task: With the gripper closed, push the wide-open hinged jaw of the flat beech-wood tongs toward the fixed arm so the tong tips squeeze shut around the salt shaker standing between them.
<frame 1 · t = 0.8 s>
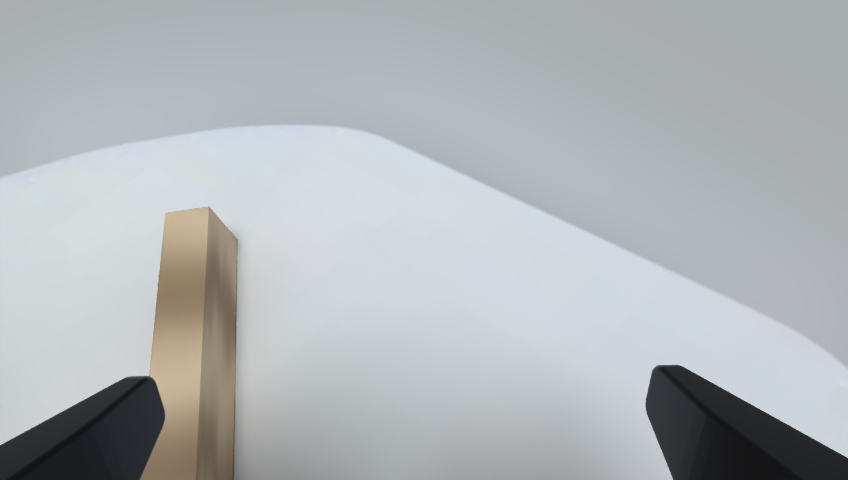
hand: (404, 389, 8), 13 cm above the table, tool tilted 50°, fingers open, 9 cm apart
tongs jaw: (191, 467, 17), point 2 cm above the table, hinge at 48.0°
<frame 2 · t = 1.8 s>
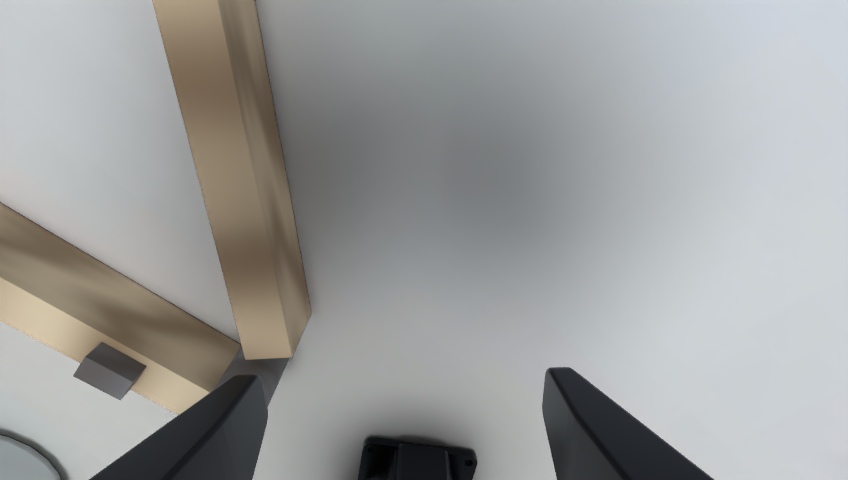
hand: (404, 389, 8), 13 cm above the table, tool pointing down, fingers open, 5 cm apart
tongs jaw: (226, 81, 16), point 2 cm above the table, hinge at 48.0°
supplement can: (4, 473, 26), on the table
tongs fixed arm: (267, 349, 23), on the table
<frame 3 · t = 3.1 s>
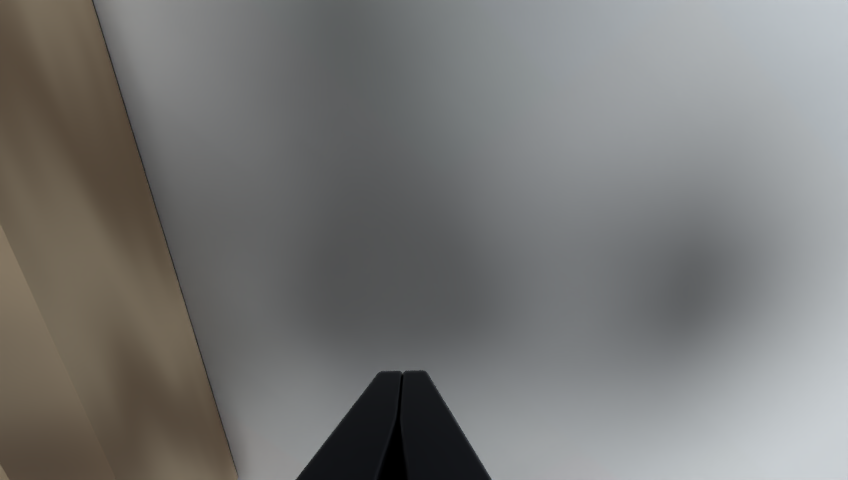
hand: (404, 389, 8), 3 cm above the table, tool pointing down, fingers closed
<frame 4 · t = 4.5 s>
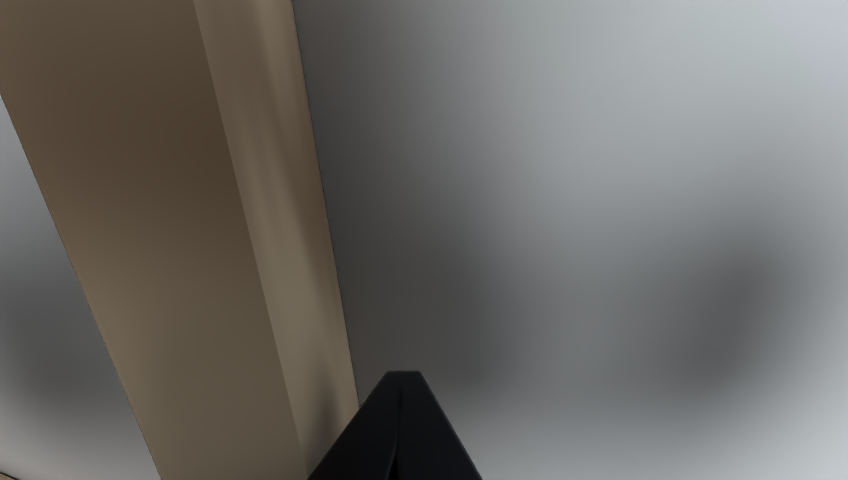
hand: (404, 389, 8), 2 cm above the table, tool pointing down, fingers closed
tongs jaw: (203, 115, 6), point 2 cm above the table, hinge at 47.7°, touching gripper
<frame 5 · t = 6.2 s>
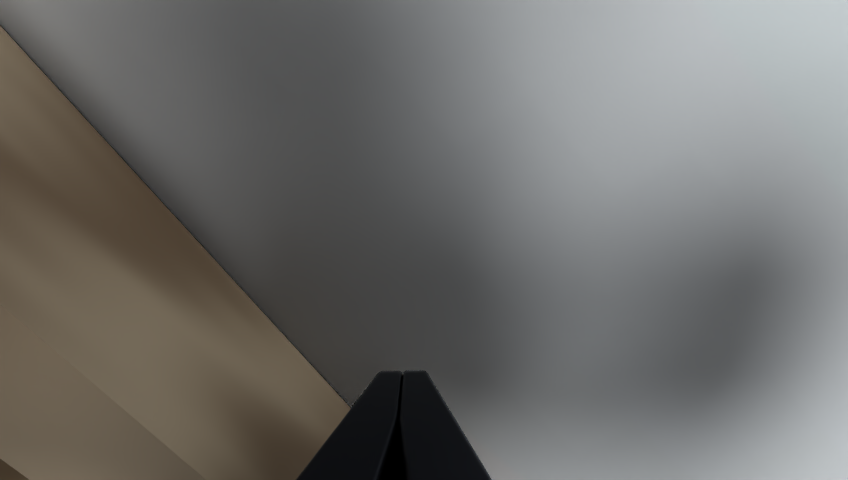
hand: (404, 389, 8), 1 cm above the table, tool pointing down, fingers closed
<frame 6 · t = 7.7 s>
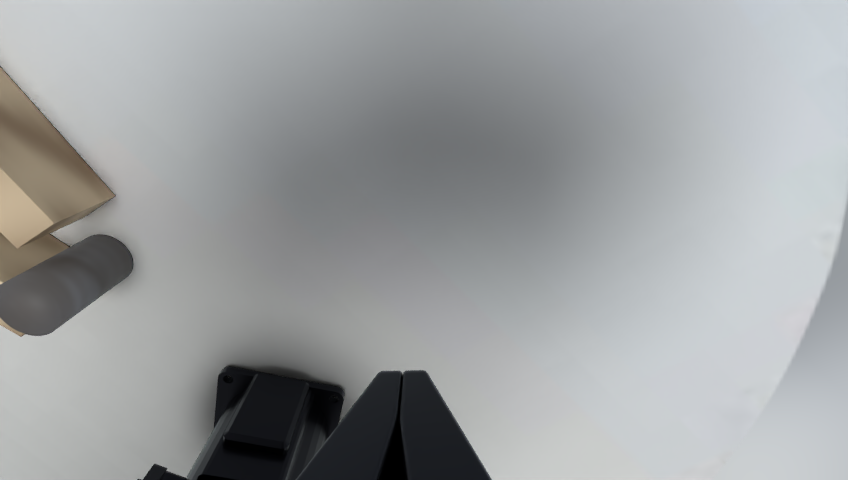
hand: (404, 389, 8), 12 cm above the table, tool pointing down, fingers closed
tongs fixed arm: (106, 258, 21), on the table
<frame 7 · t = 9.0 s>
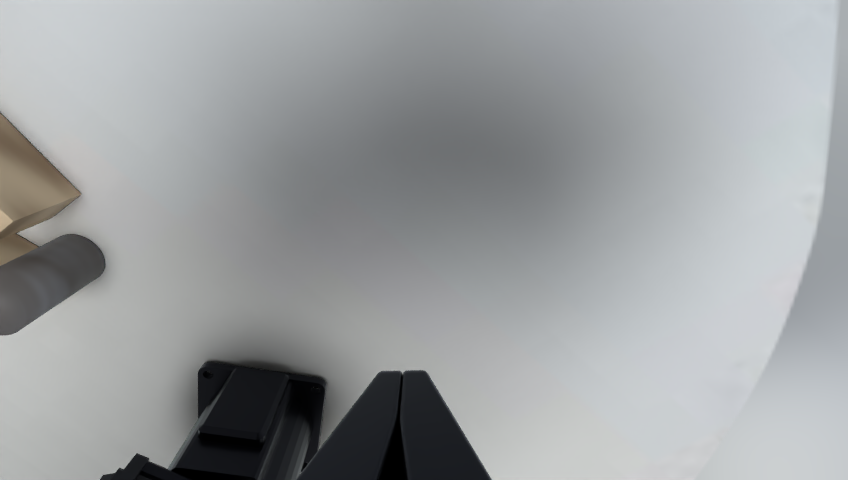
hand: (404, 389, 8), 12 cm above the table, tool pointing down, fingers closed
tongs fixed arm: (78, 258, 21), on the table
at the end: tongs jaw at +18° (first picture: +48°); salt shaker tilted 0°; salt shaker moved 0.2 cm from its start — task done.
